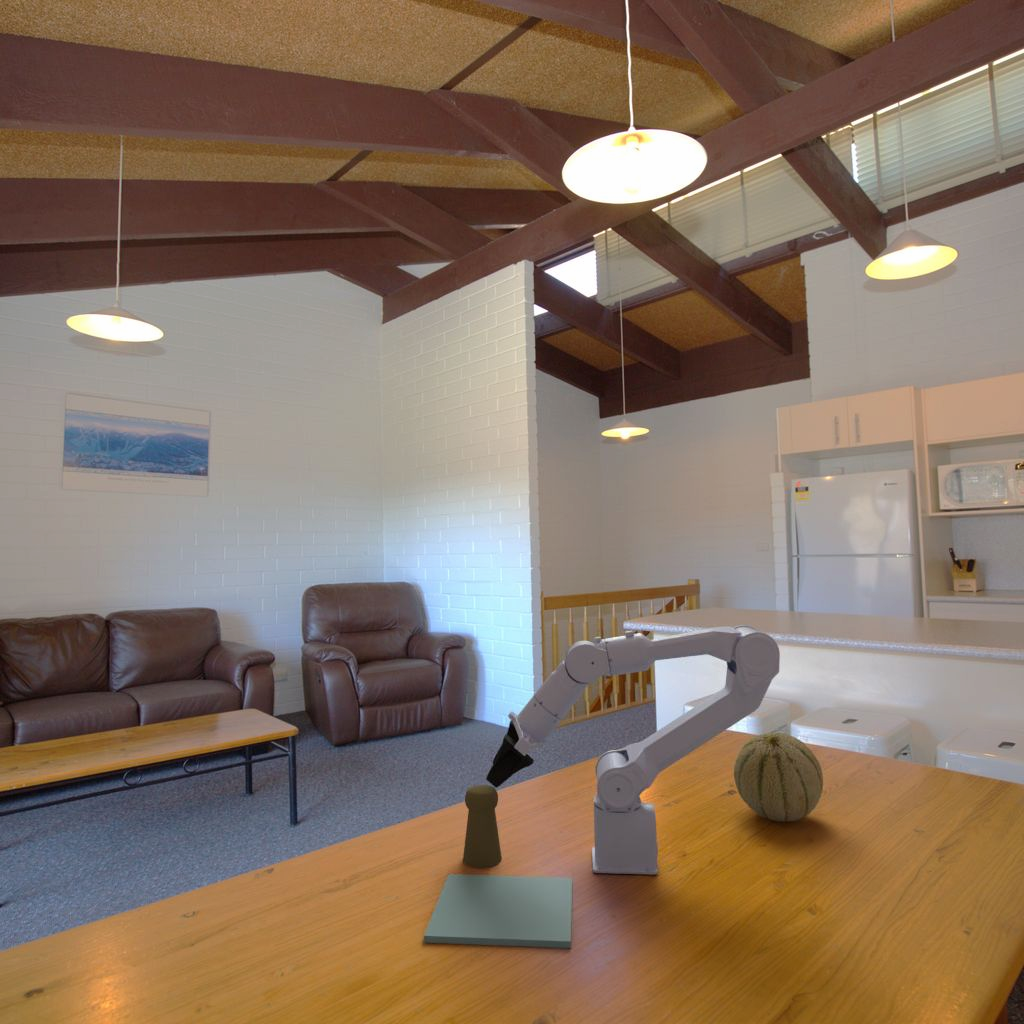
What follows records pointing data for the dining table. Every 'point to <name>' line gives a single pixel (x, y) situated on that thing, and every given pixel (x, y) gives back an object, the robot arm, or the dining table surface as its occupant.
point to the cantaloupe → (778, 777)
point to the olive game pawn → (481, 828)
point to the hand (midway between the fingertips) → (494, 774)
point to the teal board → (503, 911)
